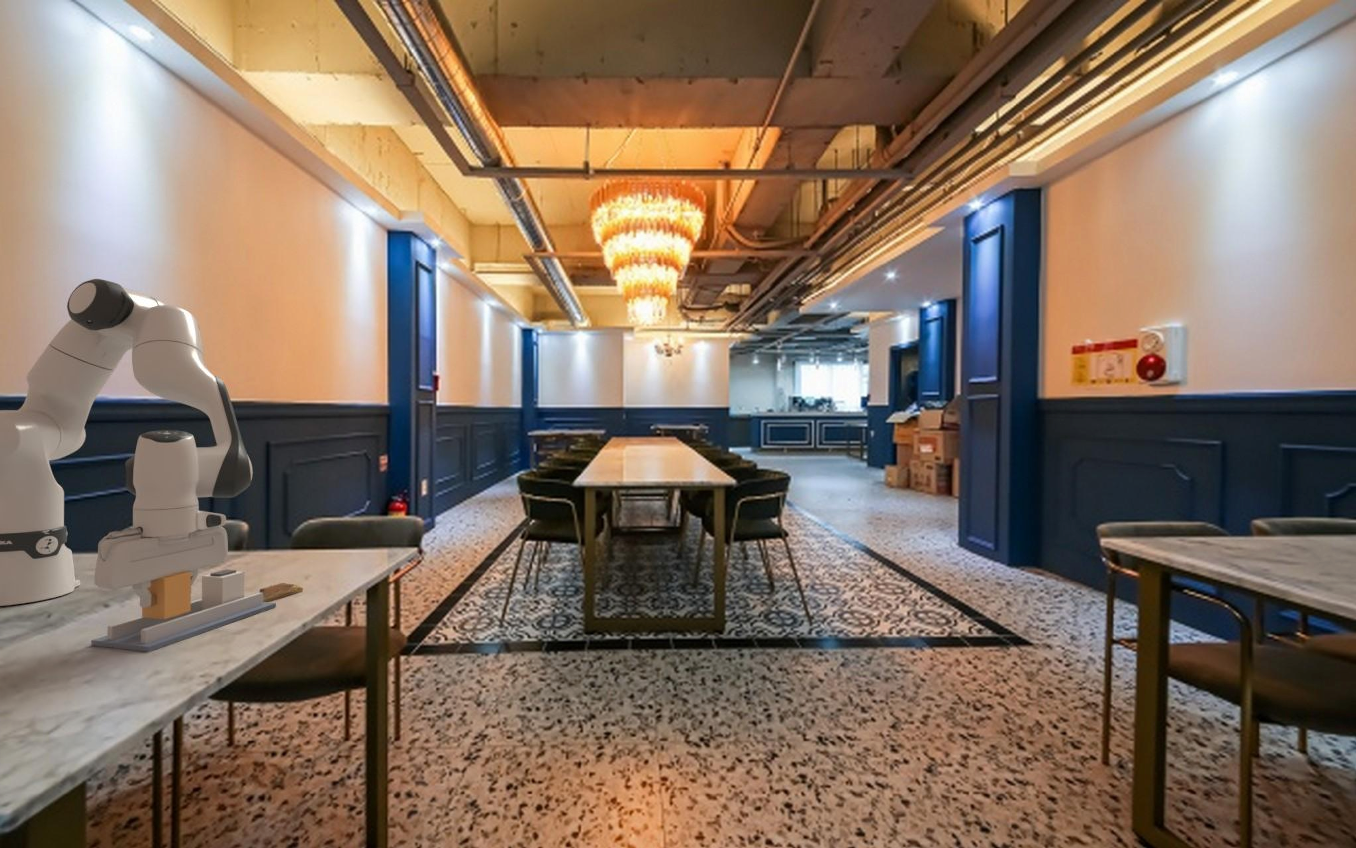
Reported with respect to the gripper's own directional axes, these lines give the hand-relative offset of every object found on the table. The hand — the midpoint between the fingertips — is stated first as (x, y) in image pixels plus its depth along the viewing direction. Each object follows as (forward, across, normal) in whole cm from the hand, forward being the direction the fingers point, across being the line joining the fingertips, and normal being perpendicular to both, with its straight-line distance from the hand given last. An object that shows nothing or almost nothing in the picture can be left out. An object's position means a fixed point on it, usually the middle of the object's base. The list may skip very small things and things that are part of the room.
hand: (166, 601), depth 106 cm
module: (+2, 0, 0) cm, 2 cm away
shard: (+6, +24, 0) cm, 25 cm away
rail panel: (+6, +5, 0) cm, 7 cm away
